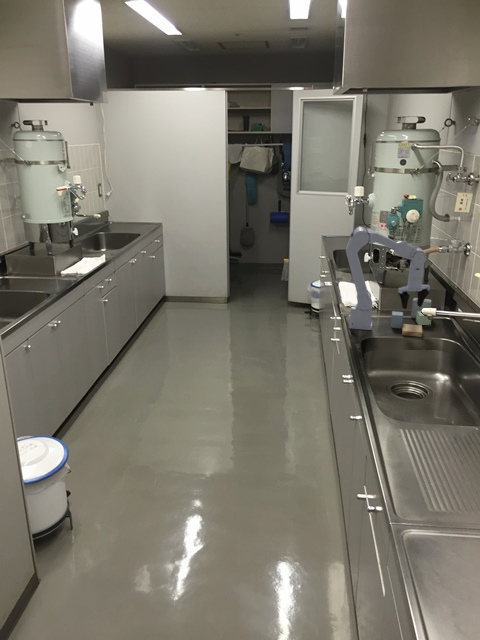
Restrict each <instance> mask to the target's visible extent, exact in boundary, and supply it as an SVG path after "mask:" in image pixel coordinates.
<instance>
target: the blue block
mask: <svg viewBox="0 0 480 640" xmlns="http://www.w3.org/2000/svg"><path fill="white" fill-rule="evenodd" d="M403 317H404V311H403V312H402V311H393V310H392V311H391V322H390V328H395V329H402V325H403Z"/></svg>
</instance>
